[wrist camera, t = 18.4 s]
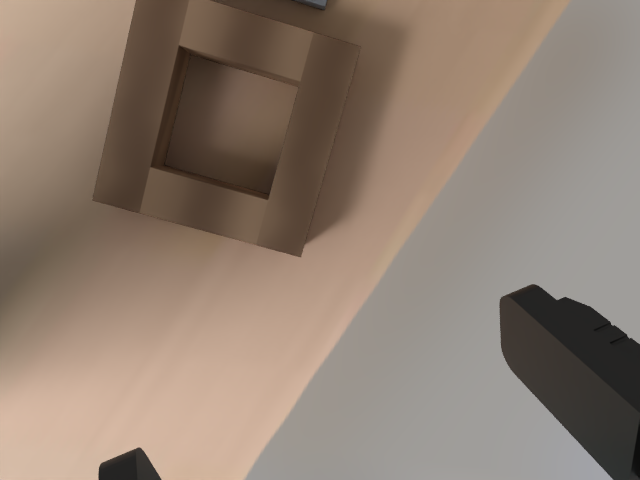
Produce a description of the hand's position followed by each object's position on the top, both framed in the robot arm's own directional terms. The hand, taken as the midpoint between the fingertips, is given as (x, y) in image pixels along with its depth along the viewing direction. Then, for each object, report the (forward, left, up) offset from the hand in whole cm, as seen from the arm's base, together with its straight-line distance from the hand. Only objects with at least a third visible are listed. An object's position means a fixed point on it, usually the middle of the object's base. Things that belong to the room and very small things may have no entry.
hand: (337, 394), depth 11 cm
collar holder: (-7, +5, -27) cm, 29 cm away
